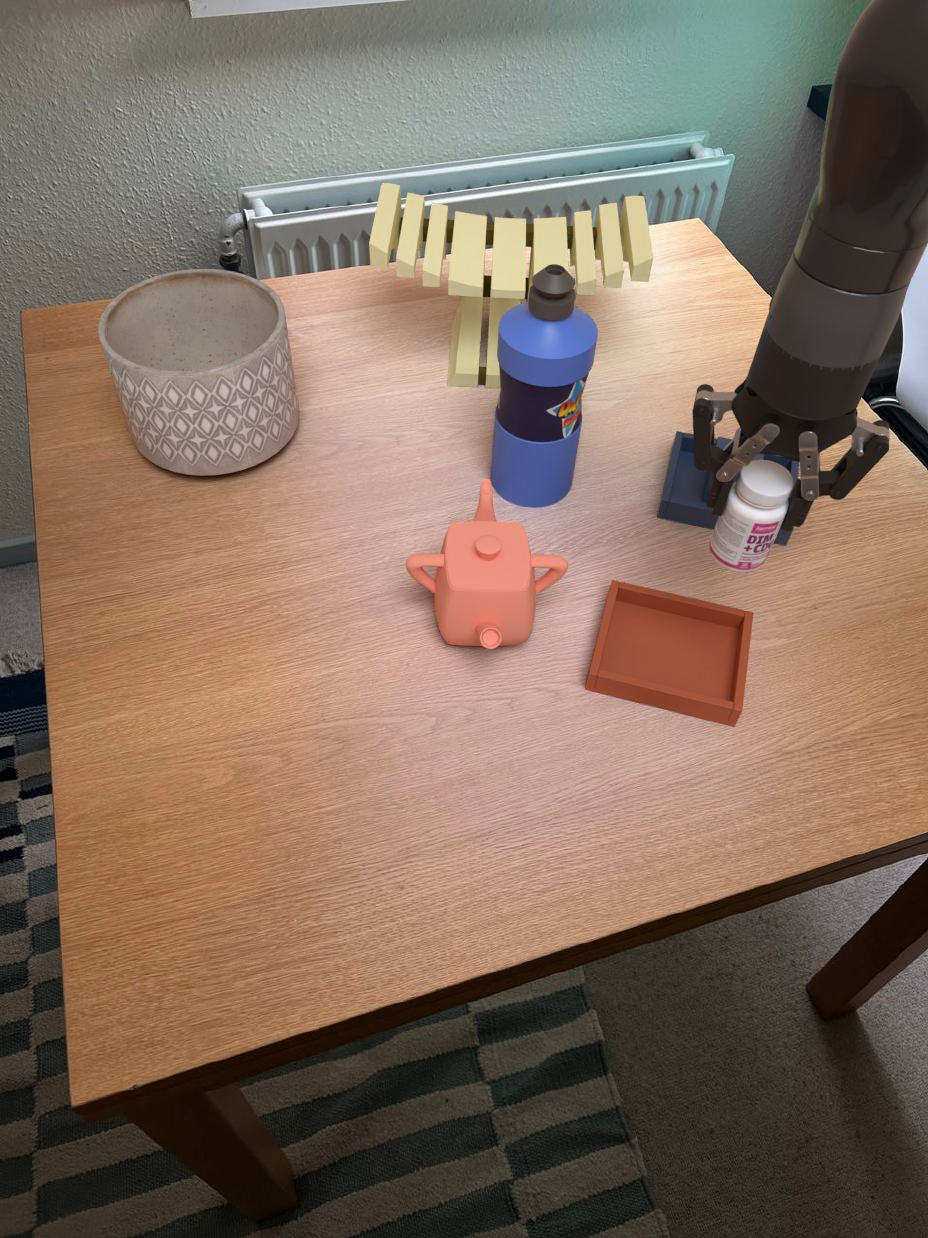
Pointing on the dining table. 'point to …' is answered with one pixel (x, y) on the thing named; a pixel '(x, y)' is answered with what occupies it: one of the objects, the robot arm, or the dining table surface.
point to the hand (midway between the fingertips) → (752, 515)
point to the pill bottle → (751, 516)
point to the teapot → (486, 579)
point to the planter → (202, 370)
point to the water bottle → (541, 391)
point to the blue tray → (699, 487)
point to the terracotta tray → (672, 653)
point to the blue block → (721, 444)
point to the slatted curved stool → (504, 262)
